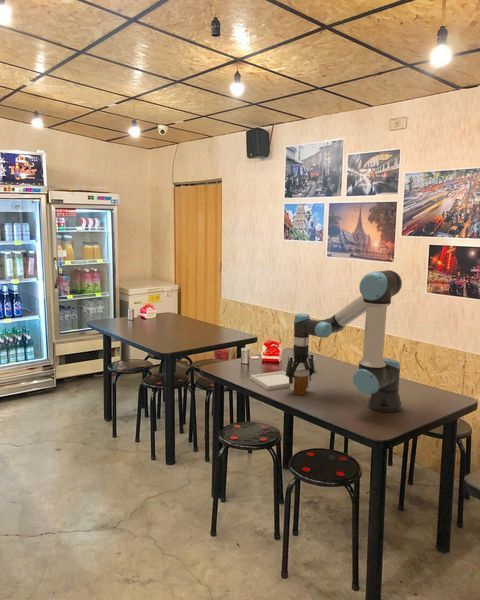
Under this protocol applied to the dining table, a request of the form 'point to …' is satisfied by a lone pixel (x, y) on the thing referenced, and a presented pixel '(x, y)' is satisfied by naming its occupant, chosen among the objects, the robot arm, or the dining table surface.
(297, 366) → the teacup
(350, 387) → the dining table surface
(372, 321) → the robot arm
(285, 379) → the tray
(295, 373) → the disposable coffee cup
